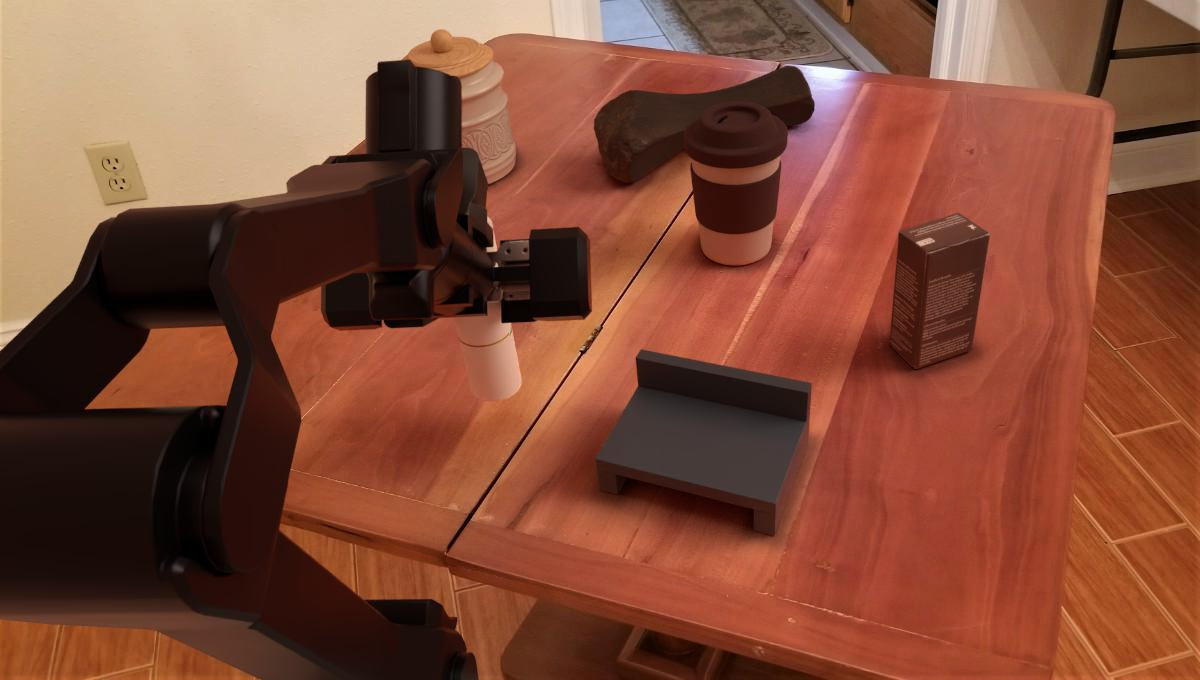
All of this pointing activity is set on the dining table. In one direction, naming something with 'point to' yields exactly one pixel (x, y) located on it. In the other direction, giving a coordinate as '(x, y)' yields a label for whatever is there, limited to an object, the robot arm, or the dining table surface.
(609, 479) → the shelf
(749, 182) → the coffee cup
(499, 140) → the jar
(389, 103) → the robot arm
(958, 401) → the dining table surface
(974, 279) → the box
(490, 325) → the tube
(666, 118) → the dark brown bone
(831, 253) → the dining table surface
